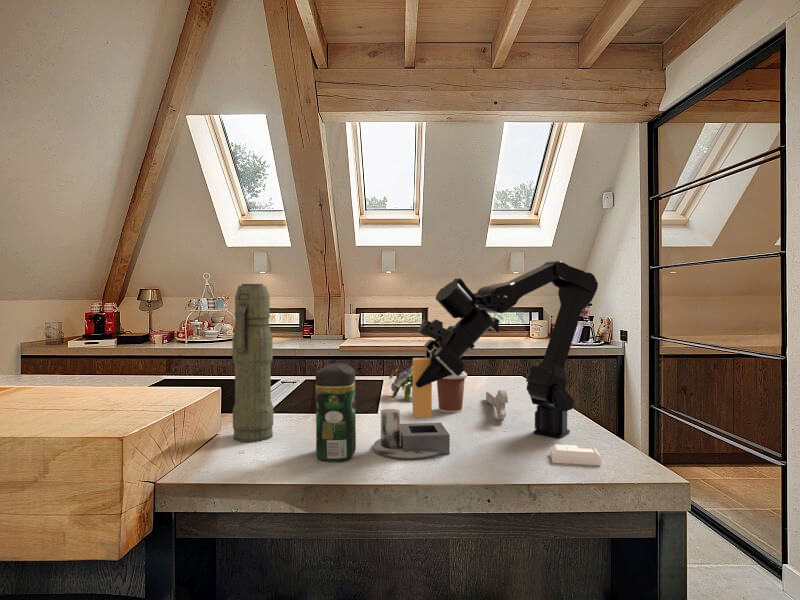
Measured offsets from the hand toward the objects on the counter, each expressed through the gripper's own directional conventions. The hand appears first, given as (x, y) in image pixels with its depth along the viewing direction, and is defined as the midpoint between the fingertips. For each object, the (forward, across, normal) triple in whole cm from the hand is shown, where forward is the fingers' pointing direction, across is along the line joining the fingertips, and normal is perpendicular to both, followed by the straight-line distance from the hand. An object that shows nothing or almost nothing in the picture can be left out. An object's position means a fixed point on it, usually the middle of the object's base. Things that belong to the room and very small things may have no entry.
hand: (415, 384), depth 110 cm
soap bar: (-12, +11, +32) cm, 35 cm away
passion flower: (+7, -50, +12) cm, 52 cm away
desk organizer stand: (+11, +1, +9) cm, 14 cm away
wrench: (-9, -30, +28) cm, 42 cm away
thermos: (+35, -11, -16) cm, 40 cm away
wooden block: (+4, 0, +6) cm, 7 cm away
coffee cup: (0, -32, +20) cm, 38 cm away
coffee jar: (+22, +4, -2) cm, 22 cm away
